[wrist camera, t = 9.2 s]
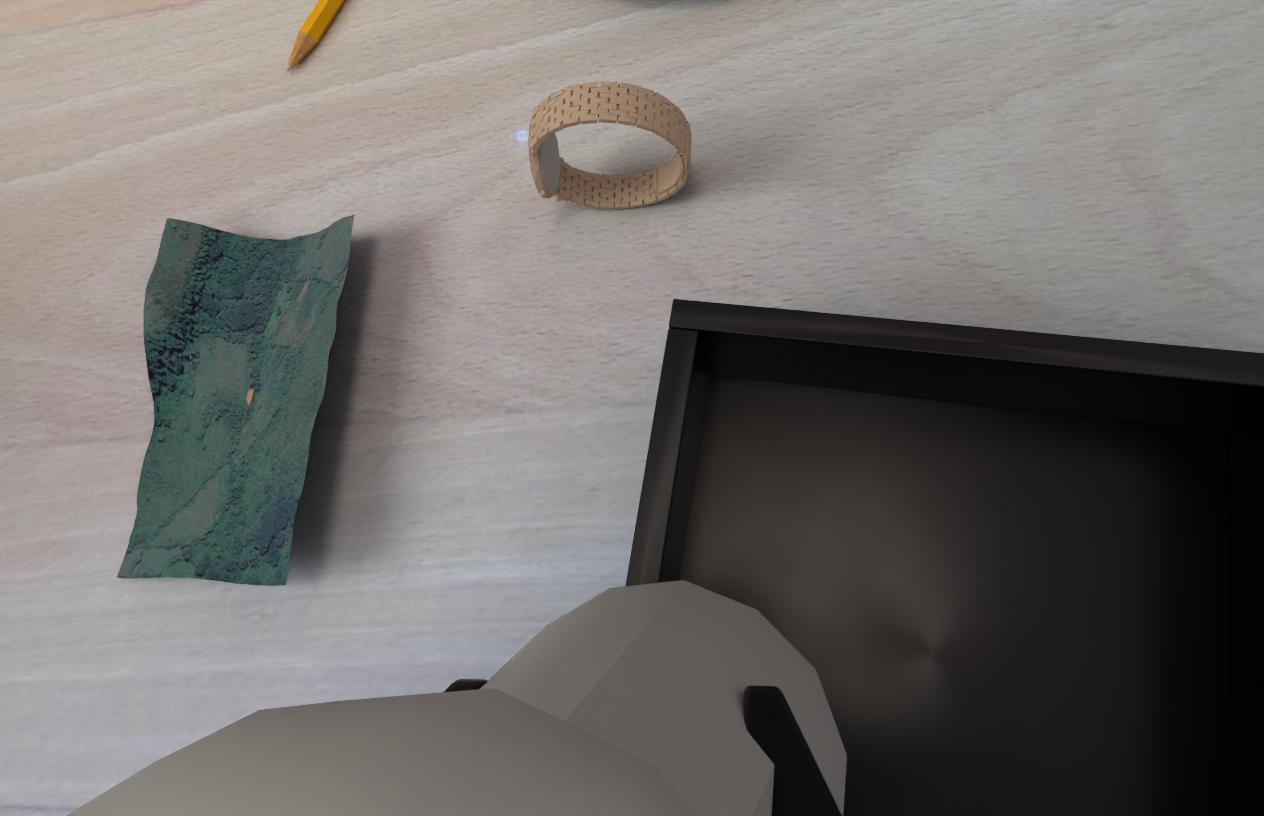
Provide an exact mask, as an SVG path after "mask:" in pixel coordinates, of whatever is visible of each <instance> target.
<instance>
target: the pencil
mask: <svg viewBox="0 0 1264 816" xmlns="http://www.w3.org/2000/svg"><path fill="white" fill-rule="evenodd" d="M344 2H345V0H319V1H318V3H317V4H316V6H315V7H314V9H313V11H312V12H311V14H310V15H309V17H308V18H307V20H306V21H305V23H304V24H303V26H302V27H301V29H300V31H299V34H298V36H297V39H296V42H295V45H294V48H293V51H292V53H291V56H290V59H289V62H288V65H287V70H286V73H287V72H288V71H290V70H291V69H293V68H294V67H295V66H296V65H297V64H298V63H299V62H300V61H301V60H302V59H303V58H305V57H306V56H307V55H308V54H309V53H310V51H311V50H312V49H313V48H314V47H315V46H316V45H317V44H318V42H319V40H320V39H321V37H322V36H323V34H324V33H325V31H326V30H327V28H328V26H329V25H330V23H331V22H332V20H333V19H334V17H335V16H336V14H337V13H338V11H339V9H340V8H341V6H342V5H343V3H344Z"/></svg>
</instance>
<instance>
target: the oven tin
mask: <svg viewBox="0 0 1264 816" xmlns="http://www.w3.org/2000/svg"><path fill="white" fill-rule="evenodd" d="M680 580H685V581H687V582H690V583H692V584H695V585H697V586H700V587H702V588H705V589H707V590H710V591H712V592H714V593H717V594H719V595H722V596H724V597H727V598H729V599H732V600H734V601H737V602H739V603H742V604H744V605H747V606H749V607H752V608H754V609H757V610H758V611H759V612H760V613H761V614H762V615H763V616H764V617H765V618H766V619H767V620H768V621H769V622H770V623H771V624H772V625H773V626H774V627H775V628H776V629H777V630H778V631H779V632H780V634H781V635H782V636H783V637H784V638H785V639H786V640H787V641H788V642H789V643H790V644H791V645H792V646H793V647H794V648H795V649H796V650H797V651H798V652H799V653H800V654H801V655H802V656H803V657H804V658H805V659H806V660H807V661H808V662H809V663H810V664H811V665H812V666H813V667H814V668H815V669H816V671H817V674H818V677H819V679H820V682H821V685H822V688H823V690H824V693H825V696H826V699H827V702H828V704H829V707H830V710H831V713H832V715H833V718H834V721H835V724H836V726H837V729H838V732H839V735H840V737H841V740H842V743H843V746H844V749H845V751H846V754H847V764H846V779H845V795H844V811H843V816H1264V353H1254V352H1243V351H1232V350H1221V349H1210V348H1200V347H1189V346H1178V345H1167V344H1156V343H1145V342H1134V341H1124V340H1113V339H1102V338H1091V337H1080V336H1069V335H1058V334H1048V333H1037V332H1026V331H1015V330H1004V329H993V328H982V327H971V326H961V325H950V324H939V323H928V322H917V321H906V320H895V319H885V318H874V317H863V316H852V315H841V314H830V313H819V312H809V311H798V310H787V309H776V308H765V307H754V306H743V305H733V304H722V303H711V302H700V301H689V300H678V299H674V300H673V304H672V310H671V316H670V322H669V330H668V335H667V341H666V347H665V353H664V359H663V365H662V371H661V377H660V383H659V389H658V395H657V401H656V407H655V413H654V419H653V425H652V431H651V437H650V443H649V449H648V455H647V461H646V467H645V473H644V479H643V485H642V491H641V497H640V503H639V509H638V515H637V521H636V527H635V533H634V539H633V545H632V551H631V557H630V563H629V569H628V575H627V581H626V586H634V585H643V584H652V583H662V582H671V581H680Z"/></svg>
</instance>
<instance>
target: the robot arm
mask: <svg viewBox="0 0 1264 816" xmlns="http://www.w3.org/2000/svg"><path fill="white" fill-rule="evenodd" d="M487 682H488V681H487V680H484V679H460V680H457V681H455V682H454V683H452V684H451V685H450V686H449V687H448V688H447V689H446V690H445V691H444V692H455V691H467V690H479V689H480V688H481V687H482V686H483V685H484V684H486V683H487ZM743 715H744V722H745V725H746V729H747V731H748V732H749V734H750V735H751V737H752V738H753V739H754V740H755V742H756V743H757V744H758V745H759V746H760V748H761V749H762V750H763V751H764V753H765V754H766V755H767V756H768V758H769V759H770V760H771V761H772V763H773V764H774V781H773V798H772V816H842V815H841V812H840V810H839V808H838V806H837V804H836V802H835V800H834V798H833V796H832V794H831V792H830V790H829V788H828V785H827V783H826V781H825V779H824V777H823V775H822V773H821V771H820V769H819V767H818V765H817V763H816V761H815V758H814V756H813V754H812V752H811V750H810V748H809V746H808V744H807V742H806V740H805V738H804V736H803V734H802V732H801V729H800V727H799V725H798V723H797V721H796V719H795V717H794V715H793V713H792V711H791V709H790V707H789V705H788V702H787V700H786V698H785V696H784V694H783V692H782V691H781V690H780V689H779V688H778V687H776V686H757V685H750V686H747V687H746V688H745V689H744V695H743Z"/></svg>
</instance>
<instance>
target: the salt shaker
mask: <svg viewBox="0 0 1264 816" xmlns="http://www.w3.org/2000/svg"><path fill="white" fill-rule="evenodd" d="M750 685H757V686H776V687H778V688H779V689H780V690H781V691H782V692H783V694H784V696H785V698H786V700H787V702H788V705H789V707H790V709H791V711H792V713H793V715H794V717H795V719H796V721H797V723H798V725H799V727H800V729H801V732H802V734H803V736H804V738H805V740H806V742H807V744H808V746H809V748H810V750H811V752H812V754H813V756H814V758H815V761H816V763H817V765H818V767H819V769H820V771H821V773H822V775H823V777H824V779H825V781H826V783H827V785H828V788H829V790H830V792H831V794H832V796H833V798H834V800H835V802H836V804H837V806H838V808H839V810H840V812H841V815H842V816H843V811H844V795H845V779H846V764H847V754H846V751H845V749H844V746H843V743H842V740H841V737H840V735H839V732H838V729H837V726H836V724H835V721H834V718H833V715H832V713H831V710H830V707H829V704H828V702H827V699H826V696H825V693H824V690H823V688H822V685H821V682H820V679H819V677H818V674H817V671H816V669H815V668H814V667H813V666H812V665H811V664H810V663H809V662H808V661H807V660H806V659H805V658H804V657H803V656H802V655H801V654H800V653H799V652H798V651H797V650H796V649H795V648H794V647H793V646H792V645H791V644H790V643H789V642H788V641H787V640H786V639H785V638H784V637H783V636H782V635H781V634H780V632H779V631H778V630H777V629H776V628H775V627H774V626H773V625H772V624H771V623H770V622H769V621H768V620H767V619H766V618H765V617H764V616H763V615H762V614H761V613H760V612H759V611H758V610H757V609H754V608H752V607H749V606H747V605H744V604H742V603H739V602H737V601H734V600H732V599H729V598H727V597H724V596H722V595H719V594H717V593H714V592H712V591H710V590H707V589H705V588H702V587H700V586H697V585H695V584H692V583H690V582H687V581H685V580H680V581H671V582H662V583H652V584H643V585H634V586H625V587H616V588H610V589H608V590H606V591H605V592H603V593H601V594H599V595H598V596H596V597H594V598H593V599H591V600H589V601H588V602H586V603H584V604H583V605H581V606H579V607H577V608H576V609H574V610H572V611H571V612H569V613H567V614H566V615H564V616H562V617H560V618H559V619H557V620H555V621H554V622H552V623H550V624H549V625H547V626H546V627H544V628H543V629H542V630H541V631H540V632H539V633H538V634H537V635H536V636H535V637H534V638H533V639H532V640H531V641H530V642H529V643H528V644H527V645H525V646H524V647H523V648H522V649H521V650H520V651H519V652H518V653H517V654H516V655H515V656H514V657H513V658H512V659H511V660H510V661H509V662H508V663H507V664H505V665H504V666H503V667H502V668H501V669H500V670H499V671H498V672H497V673H496V674H495V675H494V676H493V677H492V678H491V679H490V680H489V681H488V682H487V683H486V684H484V685H483V686H482V687H481V688H480V689H479V690H467V691H455V692H443V693H431V694H419V695H407V696H395V697H383V698H370V699H358V700H346V701H335V702H326V703H318V704H309V705H300V706H292V707H283V708H274V709H265V710H259V711H257V712H255V713H253V714H251V715H249V716H247V717H245V718H243V719H241V720H239V721H237V722H235V723H233V724H231V725H229V726H227V727H225V728H222V729H220V730H218V731H216V732H214V733H212V734H210V735H208V736H206V737H204V738H202V739H200V740H198V741H196V742H194V743H192V744H190V745H188V746H186V747H184V748H182V749H180V750H178V751H176V752H174V753H172V754H170V755H168V756H166V757H164V758H162V759H160V760H158V761H156V762H154V763H152V764H151V765H149V766H147V767H146V768H144V769H142V770H141V771H139V772H137V773H136V774H134V775H133V776H131V777H129V778H128V779H126V780H124V781H123V782H121V783H119V784H118V785H116V786H114V787H113V788H111V789H109V790H108V791H106V792H105V793H103V794H101V795H100V796H98V797H96V798H95V799H93V800H91V801H90V802H88V803H86V804H85V805H83V806H81V807H80V808H78V809H77V810H75V811H73V812H72V813H70V814H68V815H67V816H772V798H773V781H774V764H773V763H772V761H771V760H770V759H769V758H768V756H767V755H766V754H765V753H764V751H763V750H762V749H761V748H760V746H759V745H758V744H757V743H756V742H755V740H754V739H753V738H752V737H751V735H750V734H749V732H748V731H747V729H746V725H745V722H744V715H743V695H744V689H745V688H746V687H747V686H750Z"/></svg>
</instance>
